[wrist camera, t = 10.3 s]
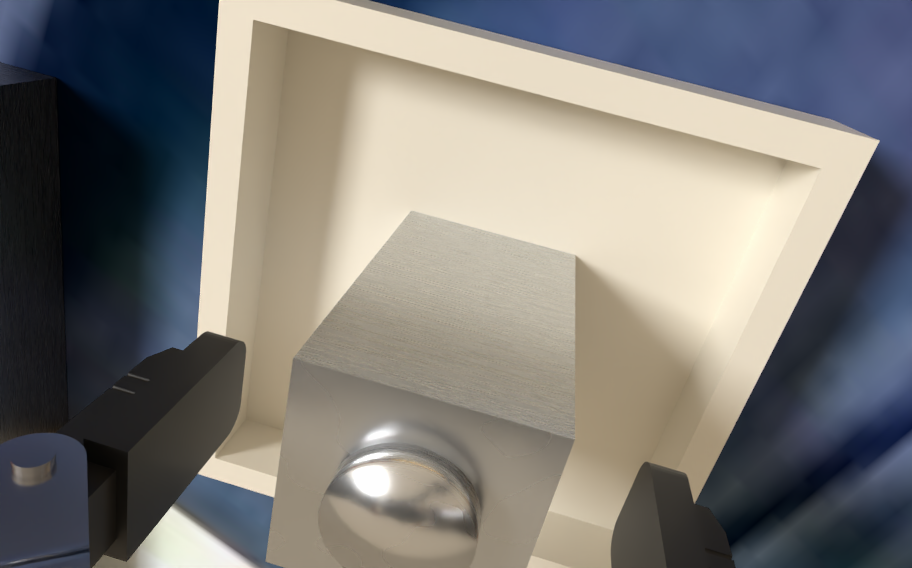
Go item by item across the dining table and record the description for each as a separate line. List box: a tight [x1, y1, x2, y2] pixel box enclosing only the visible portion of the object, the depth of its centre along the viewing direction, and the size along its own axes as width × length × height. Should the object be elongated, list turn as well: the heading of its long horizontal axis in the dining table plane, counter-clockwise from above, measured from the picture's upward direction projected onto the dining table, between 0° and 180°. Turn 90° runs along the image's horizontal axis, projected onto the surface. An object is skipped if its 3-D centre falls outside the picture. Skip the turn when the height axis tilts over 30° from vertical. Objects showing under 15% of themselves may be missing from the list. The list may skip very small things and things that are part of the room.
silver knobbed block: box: [266, 211, 575, 568], centre depth 14 cm, size 4×4×9 cm
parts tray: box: [197, 0, 879, 568], centre depth 18 cm, size 14×14×3 cm
